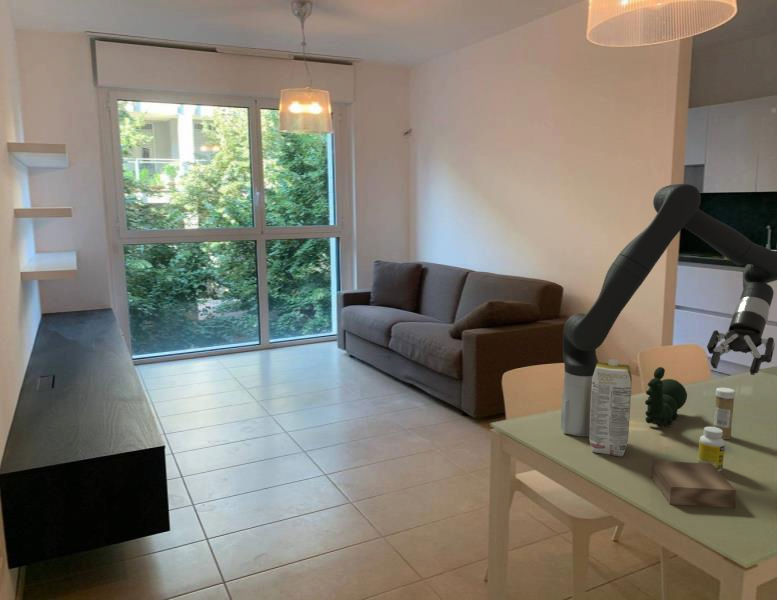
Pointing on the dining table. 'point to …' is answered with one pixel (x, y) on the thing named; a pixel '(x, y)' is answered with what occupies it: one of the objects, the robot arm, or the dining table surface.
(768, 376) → the dining table surface
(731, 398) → the sprinkles bottle
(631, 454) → the dining table surface
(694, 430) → the dining table surface
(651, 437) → the dining table surface
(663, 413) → the toy figurine
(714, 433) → the supplement bottle
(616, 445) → the juice carton
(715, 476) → the walnut plinth
